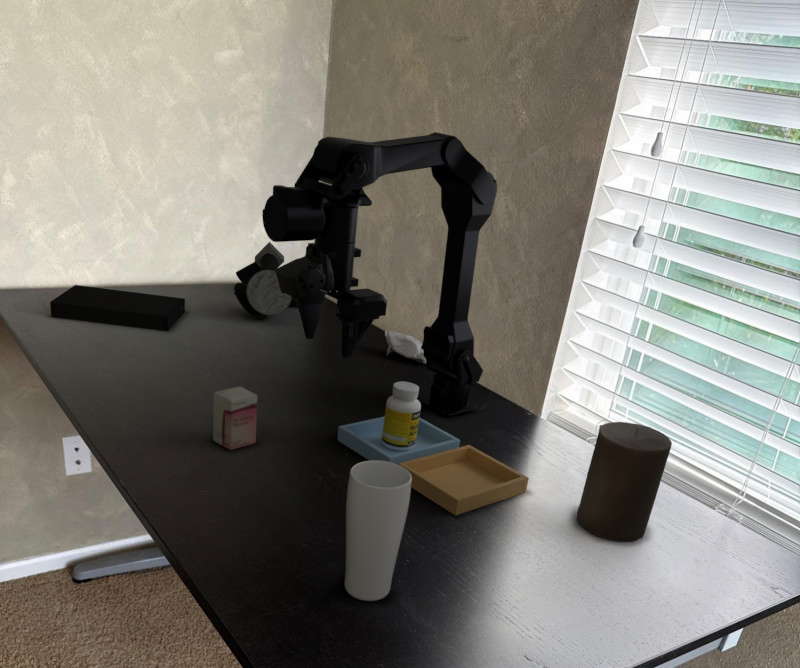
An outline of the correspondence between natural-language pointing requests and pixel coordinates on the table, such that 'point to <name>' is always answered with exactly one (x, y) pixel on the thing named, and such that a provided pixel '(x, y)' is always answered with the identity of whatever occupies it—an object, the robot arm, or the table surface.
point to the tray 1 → (369, 445)
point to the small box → (234, 417)
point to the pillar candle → (623, 480)
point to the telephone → (262, 285)
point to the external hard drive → (118, 307)
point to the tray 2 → (464, 479)
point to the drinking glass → (374, 526)
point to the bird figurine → (405, 346)
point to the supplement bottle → (401, 417)
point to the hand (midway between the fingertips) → (327, 347)
